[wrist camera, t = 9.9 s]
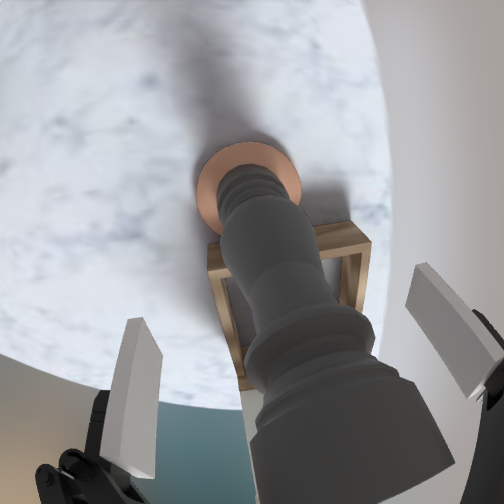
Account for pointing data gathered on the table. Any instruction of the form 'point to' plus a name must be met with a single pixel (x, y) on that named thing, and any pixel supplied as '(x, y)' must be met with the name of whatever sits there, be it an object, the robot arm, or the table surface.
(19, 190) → the table surface
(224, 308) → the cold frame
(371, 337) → the candle holder
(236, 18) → the table surface
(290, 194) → the saucer
